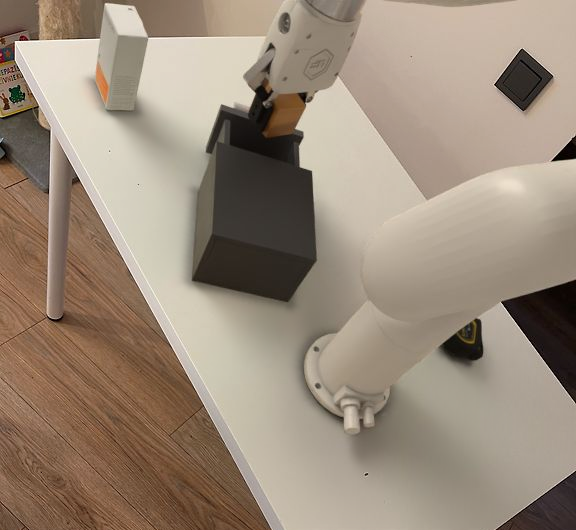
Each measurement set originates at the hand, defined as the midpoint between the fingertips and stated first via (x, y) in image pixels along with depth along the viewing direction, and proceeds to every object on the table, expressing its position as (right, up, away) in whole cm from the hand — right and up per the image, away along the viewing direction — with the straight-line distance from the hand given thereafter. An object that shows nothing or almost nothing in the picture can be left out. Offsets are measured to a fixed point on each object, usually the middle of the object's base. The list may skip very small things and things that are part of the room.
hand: (271, 121), depth 79 cm
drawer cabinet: (-4, -16, +4) cm, 17 cm away
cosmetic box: (-23, +7, +8) cm, 26 cm away
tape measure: (+28, -28, +13) cm, 42 cm away
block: (0, 0, 0) cm, 0 cm away
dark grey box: (-4, -5, +9) cm, 11 cm away
